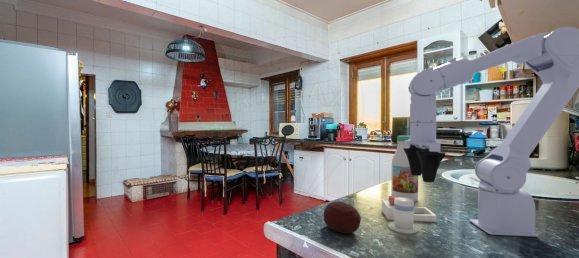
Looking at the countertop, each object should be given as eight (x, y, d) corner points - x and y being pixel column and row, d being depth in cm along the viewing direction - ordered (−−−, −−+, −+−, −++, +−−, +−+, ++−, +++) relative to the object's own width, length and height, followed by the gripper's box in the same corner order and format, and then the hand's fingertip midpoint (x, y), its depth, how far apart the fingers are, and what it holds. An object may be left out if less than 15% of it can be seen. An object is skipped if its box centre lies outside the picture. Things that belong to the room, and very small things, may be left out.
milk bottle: (386, 196, 84) (386, 135, 84) (405, 195, 86) (406, 135, 86) (403, 203, 77) (403, 136, 76) (424, 201, 79) (424, 136, 79)
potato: (341, 220, 64) (341, 195, 64) (370, 236, 54) (370, 207, 54) (315, 225, 61) (315, 199, 61) (341, 243, 51) (341, 212, 51)
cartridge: (409, 222, 61) (409, 197, 61) (416, 230, 57) (417, 202, 57) (391, 222, 61) (391, 197, 61) (397, 229, 57) (398, 202, 57)
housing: (425, 212, 69) (425, 201, 69) (436, 221, 63) (436, 209, 62) (382, 211, 70) (382, 200, 70) (388, 219, 64) (388, 207, 64)
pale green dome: (412, 223, 62) (412, 221, 62) (423, 234, 55) (423, 232, 55) (384, 222, 62) (384, 220, 62) (392, 233, 56) (392, 231, 56)
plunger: (399, 210, 68) (399, 195, 68) (402, 214, 65) (402, 199, 65) (387, 209, 68) (387, 195, 68) (390, 213, 65) (390, 198, 65)
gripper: (396, 122, 70) (396, 172, 71) (416, 122, 56) (415, 184, 56) (424, 122, 70) (423, 173, 70) (451, 122, 55) (450, 185, 55)
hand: (422, 178), depth 63 cm, fingers open, 7 cm apart
